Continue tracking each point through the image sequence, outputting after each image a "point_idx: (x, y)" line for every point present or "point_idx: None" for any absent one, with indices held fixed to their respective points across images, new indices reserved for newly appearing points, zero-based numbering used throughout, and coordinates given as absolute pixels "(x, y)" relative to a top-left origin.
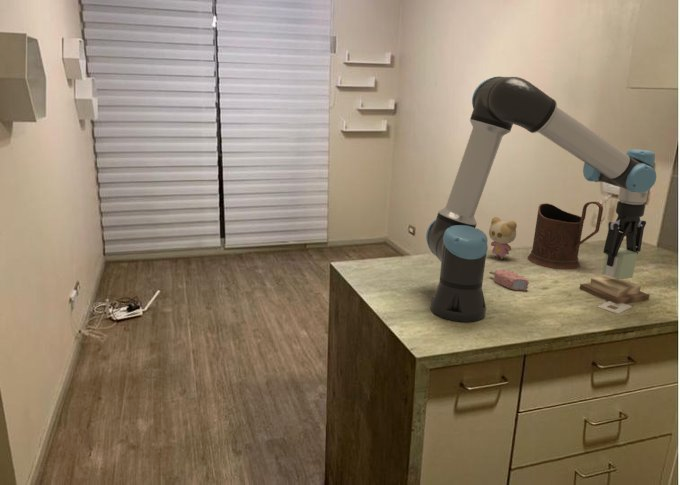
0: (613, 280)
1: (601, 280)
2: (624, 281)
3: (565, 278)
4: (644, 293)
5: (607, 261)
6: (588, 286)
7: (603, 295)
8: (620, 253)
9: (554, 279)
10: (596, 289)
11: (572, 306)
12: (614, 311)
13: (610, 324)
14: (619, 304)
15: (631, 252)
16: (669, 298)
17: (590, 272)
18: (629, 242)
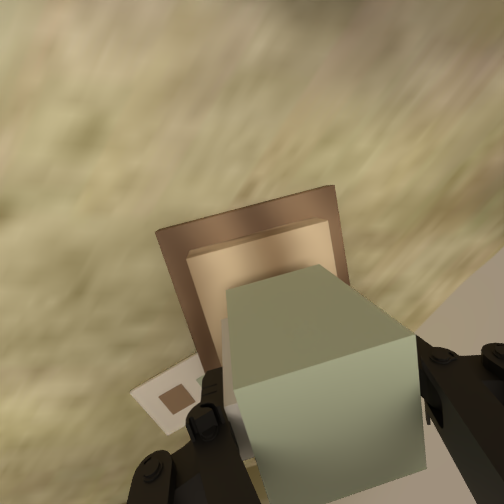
0: None
1: (220, 286)
2: None
3: (162, 96)
4: None
5: (202, 394)
6: (178, 258)
7: (192, 334)
8: (274, 494)
9: (96, 104)
10: (193, 290)
11: (38, 386)
12: (163, 425)
13: (101, 491)
14: None
15: (390, 460)
16: (420, 322)
17: (341, 25)
18: (485, 490)
